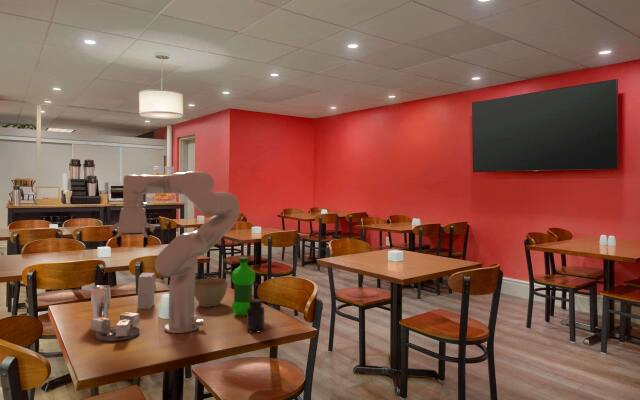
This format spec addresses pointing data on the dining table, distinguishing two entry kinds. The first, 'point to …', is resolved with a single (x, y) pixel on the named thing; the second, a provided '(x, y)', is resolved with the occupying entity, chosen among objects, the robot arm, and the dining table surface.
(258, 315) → the supplement bottle
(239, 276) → the plastic bottle
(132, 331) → the tribrach plate
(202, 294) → the planter bowl
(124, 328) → the knob
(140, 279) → the skincare box
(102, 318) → the white block
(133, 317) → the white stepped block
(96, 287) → the beer glass
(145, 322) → the dining table surface
